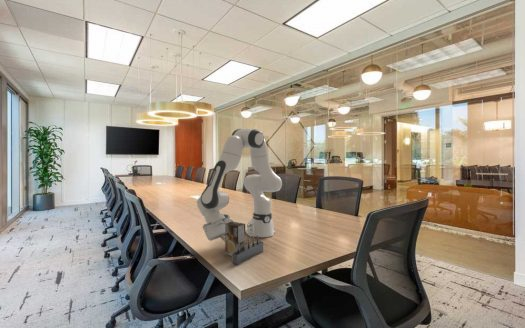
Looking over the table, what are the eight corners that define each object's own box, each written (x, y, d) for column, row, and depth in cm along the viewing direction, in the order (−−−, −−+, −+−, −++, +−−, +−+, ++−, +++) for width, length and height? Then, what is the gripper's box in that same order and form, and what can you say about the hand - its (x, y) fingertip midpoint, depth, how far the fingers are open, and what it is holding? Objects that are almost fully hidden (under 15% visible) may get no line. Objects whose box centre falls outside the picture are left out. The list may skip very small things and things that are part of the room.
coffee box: (246, 254, 134) (246, 223, 134) (238, 258, 129) (238, 226, 129) (232, 250, 139) (232, 221, 139) (224, 254, 134) (224, 223, 134)
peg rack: (231, 263, 122) (231, 245, 122) (258, 250, 141) (258, 233, 140) (237, 265, 120) (237, 246, 120) (263, 251, 139) (263, 234, 138)
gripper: (204, 221, 133) (218, 244, 128) (230, 214, 150) (243, 233, 145) (198, 228, 135) (211, 251, 130) (224, 220, 152) (237, 240, 147)
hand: (228, 241), depth 138 cm, fingers closed, pressing on coffee box
